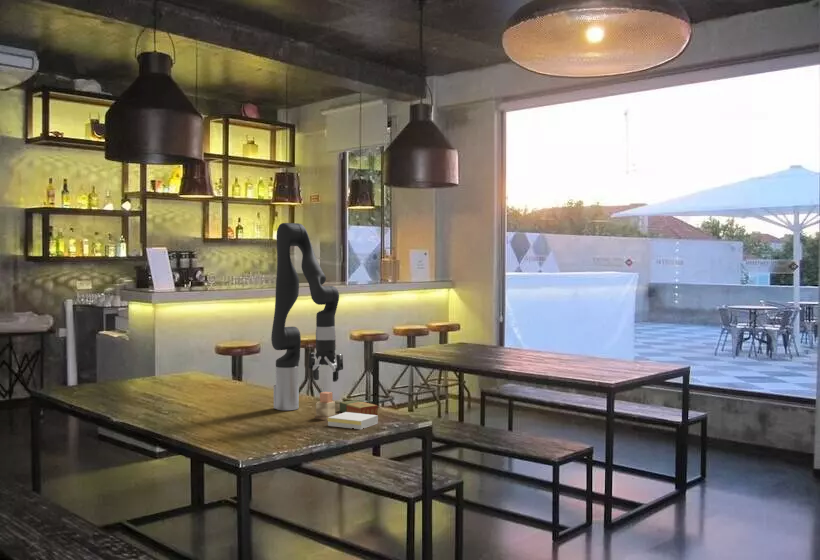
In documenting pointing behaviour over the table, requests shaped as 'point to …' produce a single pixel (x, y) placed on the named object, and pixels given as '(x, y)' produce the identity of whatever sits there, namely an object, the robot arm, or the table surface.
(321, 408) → the wooden stepped block
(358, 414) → the dock
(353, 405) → the carton
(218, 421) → the table surface
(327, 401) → the block
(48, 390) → the table surface
